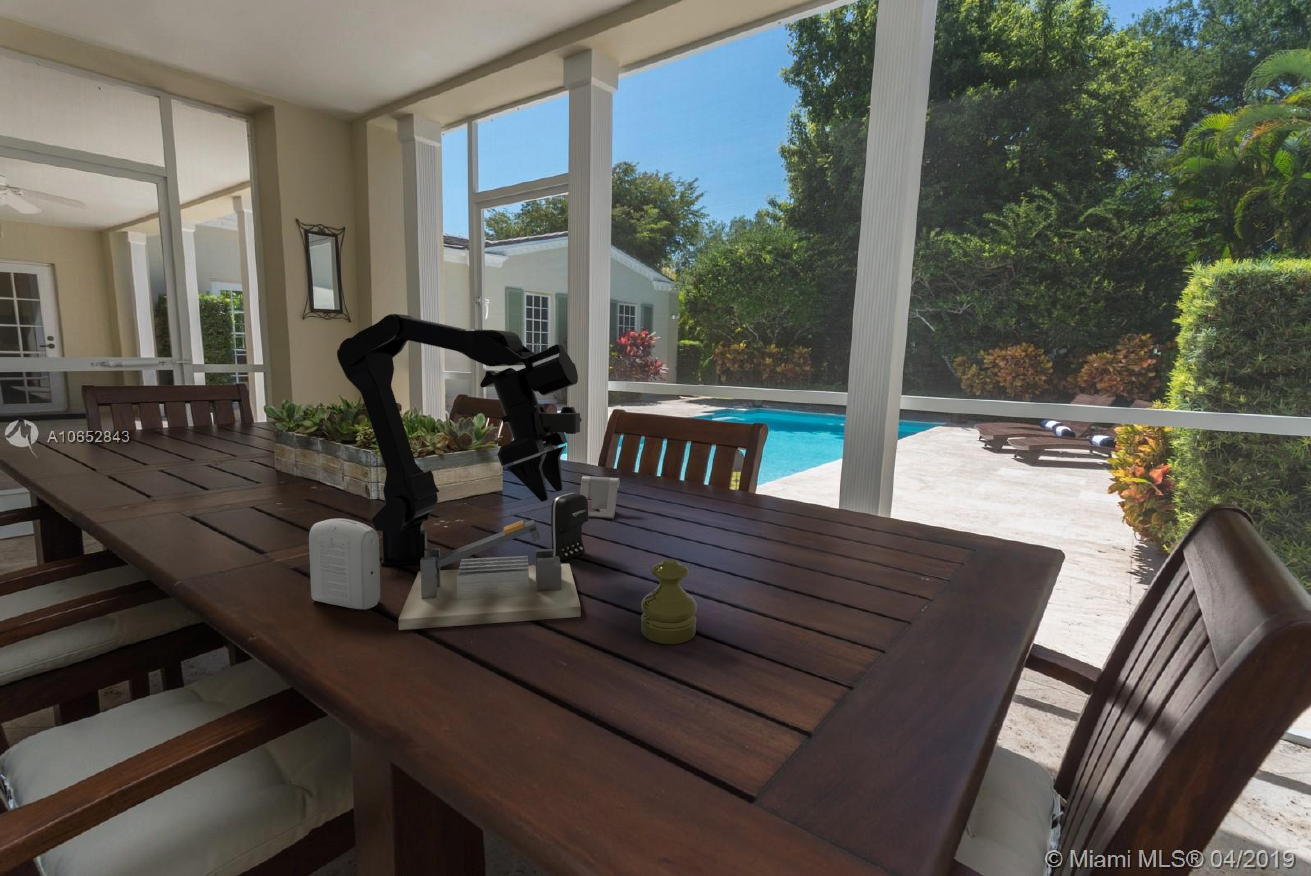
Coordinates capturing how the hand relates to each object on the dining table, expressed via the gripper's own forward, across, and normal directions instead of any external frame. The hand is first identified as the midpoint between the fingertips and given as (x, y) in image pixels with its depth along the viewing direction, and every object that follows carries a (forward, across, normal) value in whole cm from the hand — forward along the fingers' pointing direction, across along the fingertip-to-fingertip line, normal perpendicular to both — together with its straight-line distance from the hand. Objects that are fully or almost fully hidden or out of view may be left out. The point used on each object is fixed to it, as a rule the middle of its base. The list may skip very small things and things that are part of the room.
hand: (552, 495), depth 100 cm
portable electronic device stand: (+11, +41, +4) cm, 43 cm away
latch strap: (+5, -10, +10) cm, 15 cm away
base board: (+11, -9, +11) cm, 18 cm away
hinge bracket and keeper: (+10, -9, +10) cm, 17 cm away
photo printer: (+4, -14, +30) cm, 34 cm away
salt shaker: (+21, -17, -14) cm, 31 cm away
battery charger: (+13, +11, +4) cm, 17 cm away
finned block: (+10, -9, +10) cm, 17 cm away
